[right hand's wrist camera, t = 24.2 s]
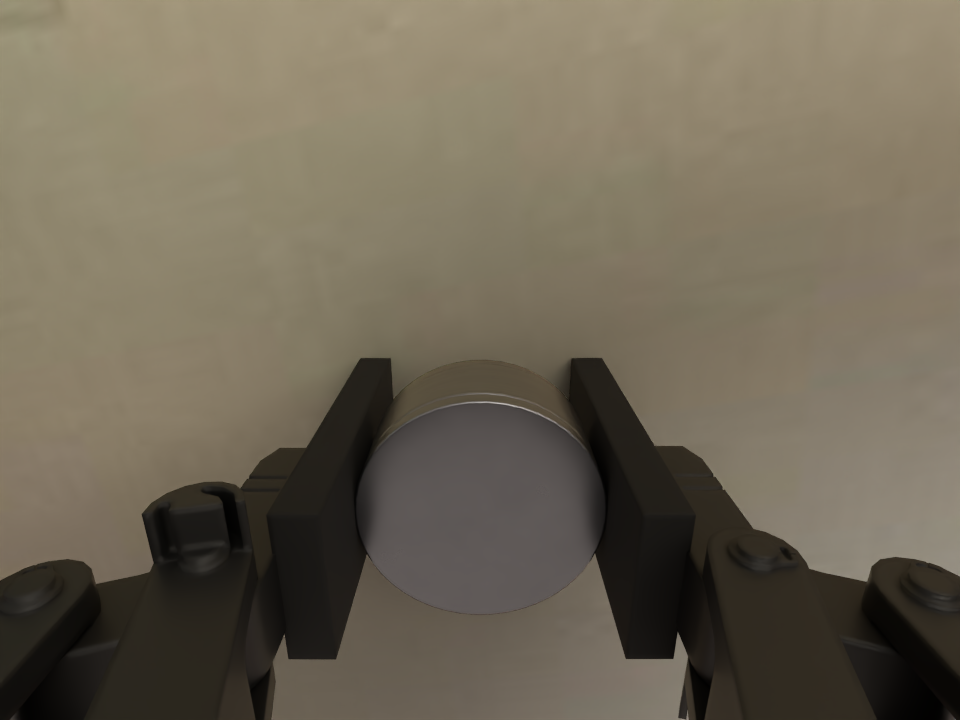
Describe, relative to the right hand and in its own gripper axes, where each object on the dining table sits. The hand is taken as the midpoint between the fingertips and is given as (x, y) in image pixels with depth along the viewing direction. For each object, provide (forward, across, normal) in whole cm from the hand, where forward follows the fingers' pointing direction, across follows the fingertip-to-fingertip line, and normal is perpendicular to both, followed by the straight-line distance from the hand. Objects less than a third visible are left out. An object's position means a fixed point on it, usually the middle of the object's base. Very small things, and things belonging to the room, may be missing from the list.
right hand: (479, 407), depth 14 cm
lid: (-4, 0, 0) cm, 4 cm away
